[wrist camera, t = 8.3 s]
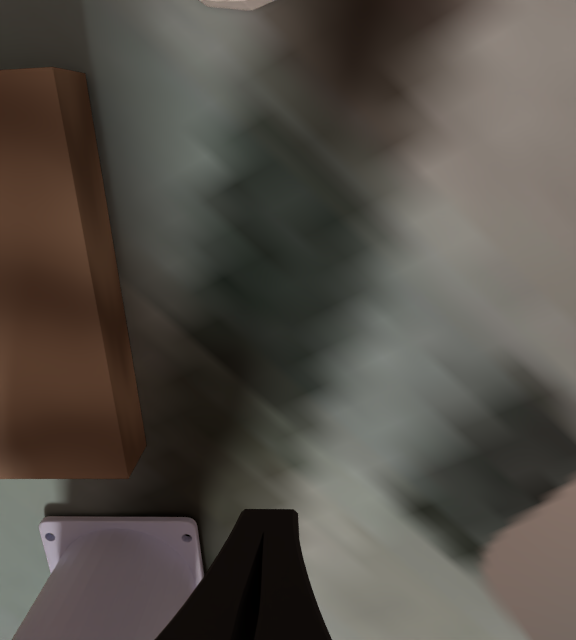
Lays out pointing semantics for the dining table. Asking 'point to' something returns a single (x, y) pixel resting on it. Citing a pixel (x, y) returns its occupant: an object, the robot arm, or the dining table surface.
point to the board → (60, 292)
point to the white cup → (236, 4)
